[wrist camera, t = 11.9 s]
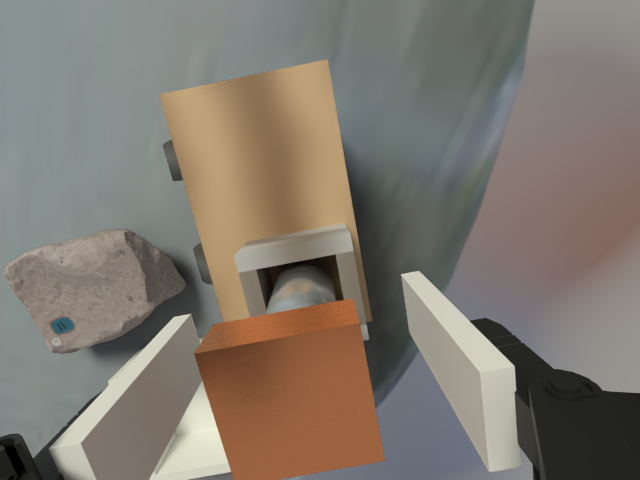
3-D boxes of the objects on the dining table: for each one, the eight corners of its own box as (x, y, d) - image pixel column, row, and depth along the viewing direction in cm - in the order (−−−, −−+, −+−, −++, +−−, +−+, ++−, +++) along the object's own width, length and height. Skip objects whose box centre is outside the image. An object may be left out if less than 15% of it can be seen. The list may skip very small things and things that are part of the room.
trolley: (228, 292, 30) (162, 387, 17) (183, 129, 27) (59, 92, 14) (353, 269, 30) (382, 347, 17) (322, 100, 27) (329, 35, 14)
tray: (172, 440, 34) (148, 486, 29) (139, 348, 31) (107, 381, 27) (311, 415, 33) (310, 458, 28) (289, 321, 31) (284, 349, 26)
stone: (80, 341, 31) (27, 380, 26) (28, 253, 29) (-42, 274, 23) (204, 296, 31) (180, 325, 25) (160, 203, 29) (122, 212, 23)
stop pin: (277, 318, 20) (235, 486, 9) (261, 251, 19) (194, 353, 8) (348, 305, 19) (385, 461, 9) (335, 236, 19) (359, 323, 8)
